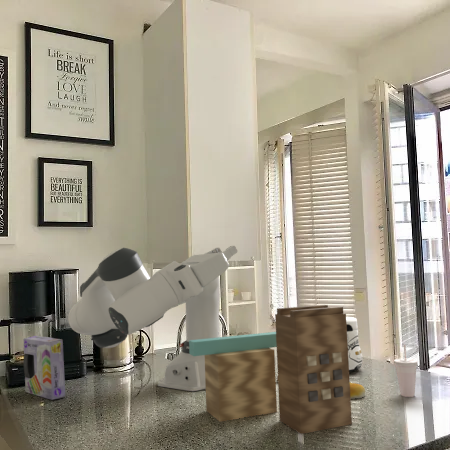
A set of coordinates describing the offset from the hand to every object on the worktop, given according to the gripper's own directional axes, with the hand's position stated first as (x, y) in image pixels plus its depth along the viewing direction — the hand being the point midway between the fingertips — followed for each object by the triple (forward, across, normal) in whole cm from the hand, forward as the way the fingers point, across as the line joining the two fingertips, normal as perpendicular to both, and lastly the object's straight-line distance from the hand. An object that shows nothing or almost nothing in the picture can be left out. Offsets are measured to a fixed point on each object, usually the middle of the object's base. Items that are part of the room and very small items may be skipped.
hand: (227, 249), depth 110 cm
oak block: (-13, -16, -41) cm, 46 cm away
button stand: (-3, +1, -47) cm, 47 cm away
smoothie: (+28, -6, -65) cm, 71 cm away
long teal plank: (-6, -16, -27) cm, 32 cm away
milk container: (+29, -42, -66) cm, 83 cm away
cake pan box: (-55, -61, -18) cm, 84 cm away
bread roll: (+16, -15, -58) cm, 62 cm away
